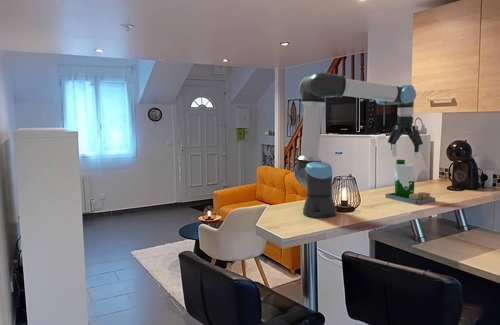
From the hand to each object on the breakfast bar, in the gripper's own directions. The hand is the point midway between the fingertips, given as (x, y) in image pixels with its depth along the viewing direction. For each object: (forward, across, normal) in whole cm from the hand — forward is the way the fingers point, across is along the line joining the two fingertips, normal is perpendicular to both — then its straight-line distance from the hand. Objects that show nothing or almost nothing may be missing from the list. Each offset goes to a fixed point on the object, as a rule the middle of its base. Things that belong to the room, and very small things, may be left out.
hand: (404, 157), depth 196 cm
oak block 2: (+21, -10, -3) cm, 24 cm away
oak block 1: (+21, -10, +2) cm, 24 cm away
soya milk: (+22, 0, -1) cm, 22 cm away
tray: (+22, -4, -1) cm, 22 cm away
